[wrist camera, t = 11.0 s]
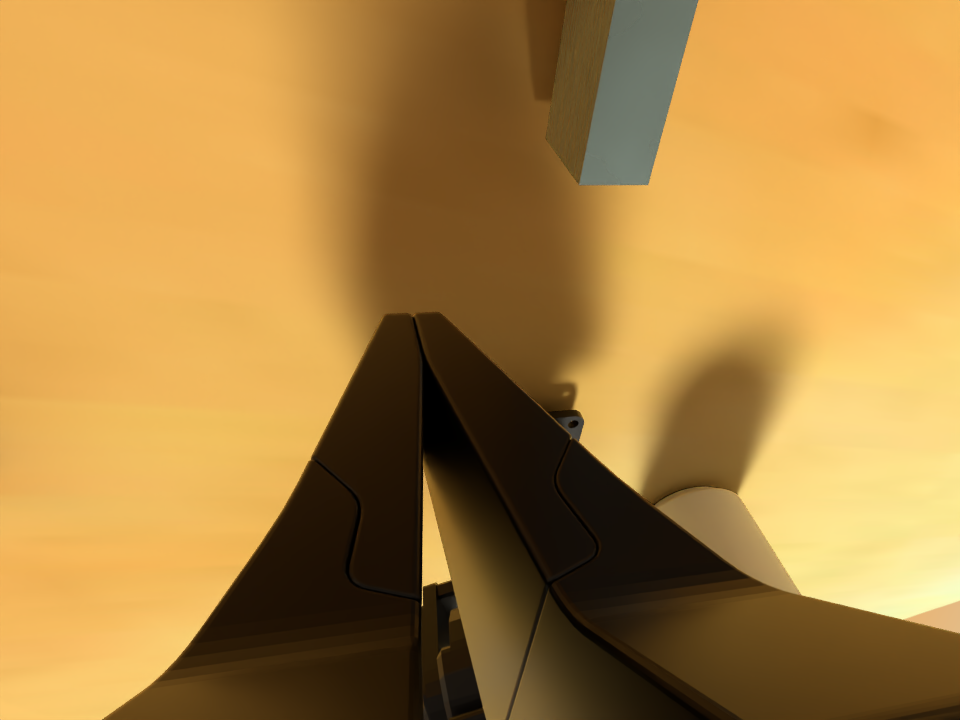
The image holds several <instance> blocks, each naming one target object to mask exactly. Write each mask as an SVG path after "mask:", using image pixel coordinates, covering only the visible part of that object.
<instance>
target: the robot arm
mask: <svg viewBox="0 0 960 720" xmlns="http://www.w3.org/2000/svg"><path fill="white" fill-rule="evenodd" d="M583 425H584V420H583V417H582V415H581V413H580V412H579V411H577V410H567V411H555V412H546V411H545V410H544V409H543V408H542V407H541V406H540V405H539V404H538V403H536V402H535V401H534V400H533V399H532V398H531V397H530V396H529V395H528V394H527V393H526V392H525V391H524V390H523V389H522V388H520V387H519V386H518V385H517V384H516V383H515V382H514V381H513V380H512V379H511V378H510V377H509V376H508V375H507V374H505V373H504V372H503V371H502V370H501V369H500V368H499V367H498V366H497V365H496V364H495V363H494V362H493V361H492V360H491V359H489V358H488V357H487V356H486V355H485V354H484V353H483V352H482V351H481V350H480V349H479V348H478V347H477V346H476V345H474V344H473V343H472V342H471V341H470V340H469V339H468V338H467V337H466V336H465V335H464V334H463V333H462V332H461V331H460V330H458V329H457V328H456V327H455V326H454V325H453V324H452V323H451V322H450V321H449V320H448V319H447V318H446V317H445V316H443V315H442V314H441V313H439V312H425V313H415V314H414V315H413V316H411V315H410V314H408V313H397V314H385V315H384V316H383V317H382V318H381V320H380V322H379V324H378V326H377V328H376V330H375V332H374V334H373V336H372V338H371V340H370V342H369V344H368V346H367V348H366V350H365V352H364V354H363V356H362V358H361V360H360V362H359V364H358V366H357V368H356V370H355V372H354V374H353V376H352V378H351V380H350V381H349V383H348V385H347V387H346V389H345V391H344V393H343V395H342V397H341V399H340V401H339V403H338V405H337V407H336V409H335V411H334V413H333V415H332V417H331V419H330V421H329V423H328V425H327V427H326V429H325V431H324V433H323V435H322V437H321V439H320V441H319V443H318V445H317V447H316V448H315V450H314V452H313V454H312V456H311V460H310V461H309V462H308V464H307V466H306V468H305V470H304V472H303V473H302V475H301V477H300V479H299V481H298V483H297V485H296V487H295V489H294V490H293V492H292V494H291V496H290V497H289V499H288V501H287V503H286V505H285V506H284V508H283V510H282V512H281V513H280V515H279V516H278V518H277V519H276V521H275V522H274V524H273V525H272V527H271V528H270V530H269V531H268V533H267V535H266V536H265V538H264V539H263V541H262V542H261V544H260V545H259V547H258V548H257V549H256V551H255V552H254V554H253V555H252V557H251V558H250V559H249V561H248V562H247V564H246V565H245V566H244V568H243V569H242V571H241V572H240V574H239V575H238V576H237V578H236V579H235V581H234V582H233V583H232V585H231V586H230V588H229V589H228V591H227V592H226V593H225V595H224V596H223V598H222V599H221V601H220V602H219V603H218V605H217V606H216V608H215V609H214V610H213V612H212V613H211V615H210V616H209V618H208V619H207V620H206V622H205V623H204V625H203V626H202V627H201V629H200V630H199V632H198V633H197V634H196V636H195V637H194V638H193V640H192V641H191V642H190V644H189V645H188V647H187V648H186V649H185V650H184V651H183V653H182V654H181V655H180V656H179V657H178V658H177V660H176V661H175V662H174V663H173V664H172V665H171V666H170V667H169V668H168V669H167V670H166V671H165V672H164V673H163V674H162V675H161V676H160V677H159V678H158V679H156V680H155V681H154V682H153V683H152V684H151V685H150V686H148V687H147V688H146V689H144V690H143V691H142V692H140V693H139V694H137V695H136V696H135V697H133V698H132V699H130V700H129V701H128V702H126V703H125V704H123V705H122V706H121V707H119V708H118V709H116V710H115V711H114V712H112V713H111V714H109V715H108V716H107V717H105V718H104V719H102V720H960V633H955V632H952V631H947V630H943V629H939V628H935V627H931V626H927V625H922V624H918V623H914V622H910V621H906V620H902V619H898V618H894V617H889V616H885V615H881V614H877V613H873V612H869V611H864V610H860V609H856V608H852V607H848V606H844V605H840V604H835V603H831V602H827V601H823V600H819V599H815V598H810V597H806V596H802V595H798V594H794V593H790V592H787V591H783V590H780V589H778V588H775V587H772V586H769V585H767V584H765V583H763V582H761V581H759V580H757V579H755V578H753V577H751V576H750V575H748V574H746V573H744V572H743V571H741V570H739V569H738V568H736V567H735V566H734V565H732V564H731V563H729V562H728V561H726V560H725V559H724V558H722V557H721V556H720V555H718V554H717V553H716V552H714V551H713V550H712V549H711V548H709V547H708V546H707V545H705V544H704V543H703V542H701V541H700V540H699V539H697V538H696V537H695V536H693V535H692V534H691V533H689V532H688V531H687V530H685V529H684V528H683V527H682V526H680V525H679V524H678V523H676V522H675V521H674V520H672V519H671V518H670V517H668V516H667V515H666V514H664V513H663V512H662V511H660V510H659V509H658V508H656V507H655V506H654V505H653V504H651V503H650V502H649V501H647V500H646V499H645V498H644V497H642V496H641V495H640V494H639V493H637V492H636V491H635V490H634V489H632V488H631V487H630V486H629V485H627V484H626V483H625V482H623V481H622V480H621V479H620V478H618V477H617V476H616V475H615V474H614V473H613V472H612V471H610V470H609V469H608V468H607V467H606V466H605V465H604V464H603V463H601V462H600V461H599V460H598V459H597V458H596V457H595V456H594V455H592V454H591V453H590V452H589V451H588V450H587V449H586V448H585V447H584V446H583V445H582V444H581V443H580V442H579V439H580V436H581V432H582V428H583ZM423 467H424V472H425V476H426V480H427V484H428V488H429V492H430V496H431V500H432V504H433V508H434V512H435V516H436V520H437V524H438V528H439V532H440V536H441V540H442V544H443V548H444V552H445V556H446V560H447V564H448V568H449V572H450V576H451V580H450V581H447V582H444V583H441V584H437V583H433V584H430V585H427V586H424V587H423V606H421V605H422V531H423Z"/></svg>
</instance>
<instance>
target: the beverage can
mask: <svg viewBox="0 0 960 720" xmlns="http://www.w3.org/2000/svg"><path fill="white" fill-rule="evenodd" d="M654 506H655V507H656V508H658V509H659V510H660V511H662V512H663V513H664V514H666V515H667V516H668V517H670V518H671V519H672V520H674V521H675V522H676V523H678V524H679V525H680V526H682V527H683V528H684V529H685V530H687V531H688V532H689V533H691V534H692V535H693V536H695V537H696V538H697V539H699V540H700V541H701V542H703V543H704V544H705V545H707V546H708V547H709V548H711V549H712V550H713V551H714V552H716V553H717V554H718V555H720V556H721V557H722V558H724V559H725V560H726V561H728V562H729V563H731V564H732V565H734V566H735V567H736V568H738V569H739V570H741V571H743V572H744V573H746V574H748V575H750V576H751V577H753V578H755V579H757V580H759V581H761V582H763V583H765V584H767V585H769V586H772V587H775V588H778V589H780V590H783V591H787V592H790V593H794V594H798V595H801V594H800V592H799V590H798V589H797V587H796V586H795V584H794V583H793V581H792V579H791V578H790V576H789V575H788V573H787V571H786V570H785V568H784V567H783V565H782V563H781V562H780V560H779V559H778V557H777V556H776V554H775V552H774V551H773V549H772V548H771V546H770V544H769V543H768V541H767V540H766V538H765V536H764V535H763V533H762V532H761V530H760V529H759V527H758V525H757V524H756V522H755V521H754V519H753V517H752V516H751V514H750V513H749V511H748V509H747V508H746V506H745V505H744V503H743V502H742V500H741V498H740V497H739V496H738V495H737V494H735V493H734V492H732V491H730V490H726V489H722V488H713V487H705V486H703V487H693V488H688V489H684V490H681V491H678V492H676V493H673V494H671V495H669V496H667V497H666V498H664V499H662V500H661V501H659V502H658V503H657V504H656V505H654Z"/></svg>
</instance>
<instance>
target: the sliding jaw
mask: <svg viewBox="0 0 960 720" xmlns="http://www.w3.org/2000/svg"><path fill="white" fill-rule="evenodd" d="M697 3H698V0H567V2H566V9H565V15H564V22H563V28H562V35H561V42H560V48H559V55H558V61H557V68H556V74H555V81H554V87H553V94H552V101H551V107H550V114H549V120H548V127H547V133H546V140H547V141H548V143H549V144H550V145H551V147H552V148H553V150H554V151H555V152H556V154H557V155H558V157H559V158H560V159H561V161H562V162H563V164H564V165H565V166H566V168H567V169H568V170H569V172H570V173H571V175H572V176H573V177H574V179H575V180H576V182H577V183H578V184H579V185H648V183H649V180H650V176H651V172H652V168H653V165H654V161H655V157H656V154H657V150H658V146H659V143H660V139H661V135H662V132H663V128H664V124H665V121H666V117H667V113H668V110H669V106H670V102H671V99H672V95H673V91H674V88H675V84H676V80H677V77H678V73H679V69H680V66H681V62H682V58H683V54H684V51H685V47H686V43H687V40H688V36H689V32H690V29H691V25H692V21H693V18H694V14H695V10H696V7H697Z"/></svg>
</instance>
